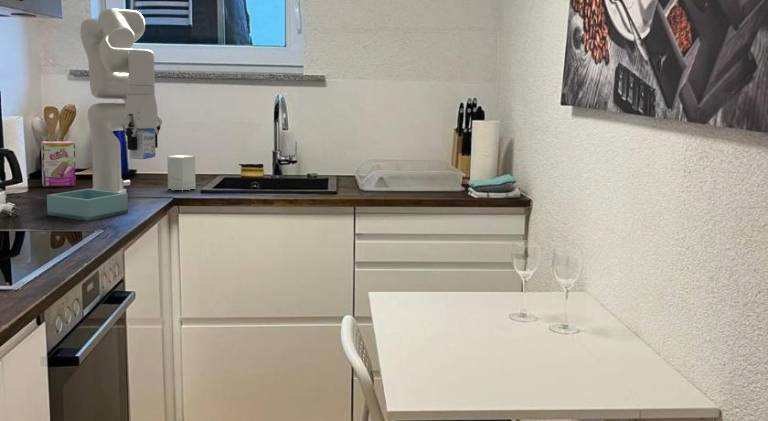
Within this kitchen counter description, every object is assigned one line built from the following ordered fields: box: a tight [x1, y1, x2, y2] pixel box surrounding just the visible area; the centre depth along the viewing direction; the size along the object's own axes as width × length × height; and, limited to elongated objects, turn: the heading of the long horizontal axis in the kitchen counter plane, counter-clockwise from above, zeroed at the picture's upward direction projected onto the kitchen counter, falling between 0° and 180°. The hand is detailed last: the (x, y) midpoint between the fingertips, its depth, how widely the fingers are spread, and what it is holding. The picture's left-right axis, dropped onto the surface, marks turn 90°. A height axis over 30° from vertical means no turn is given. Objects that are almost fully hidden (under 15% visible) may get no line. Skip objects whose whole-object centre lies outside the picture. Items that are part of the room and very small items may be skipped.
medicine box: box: [129, 129, 156, 160], centre depth 230 cm, size 8×4×9 cm, turn 169°
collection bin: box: [46, 188, 129, 222], centre depth 227 cm, size 16×16×6 cm
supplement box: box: [167, 154, 196, 192], centre depth 280 cm, size 7×7×13 cm
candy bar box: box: [40, 140, 77, 188], centre depth 279 cm, size 11×5×16 cm, turn 121°
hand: (142, 148), depth 230 cm, fingers closed on medicine box, 8 cm apart
